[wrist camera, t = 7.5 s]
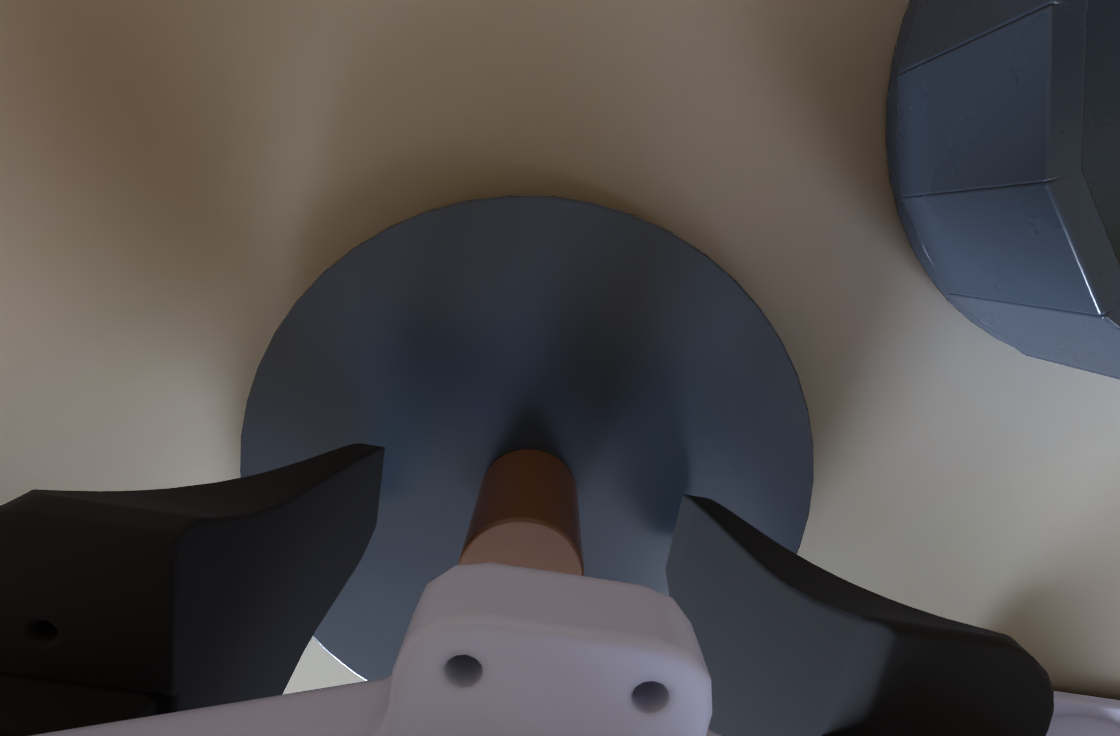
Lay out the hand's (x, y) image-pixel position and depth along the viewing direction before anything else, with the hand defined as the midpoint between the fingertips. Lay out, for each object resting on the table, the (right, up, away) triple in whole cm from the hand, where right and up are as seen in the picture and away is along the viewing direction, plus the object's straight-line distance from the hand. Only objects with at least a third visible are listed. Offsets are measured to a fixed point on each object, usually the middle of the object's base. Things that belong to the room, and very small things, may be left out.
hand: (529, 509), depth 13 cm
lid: (0, 0, +1) cm, 1 cm away
